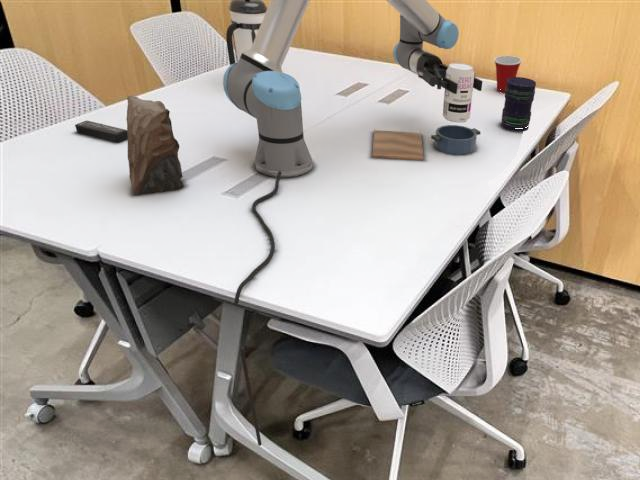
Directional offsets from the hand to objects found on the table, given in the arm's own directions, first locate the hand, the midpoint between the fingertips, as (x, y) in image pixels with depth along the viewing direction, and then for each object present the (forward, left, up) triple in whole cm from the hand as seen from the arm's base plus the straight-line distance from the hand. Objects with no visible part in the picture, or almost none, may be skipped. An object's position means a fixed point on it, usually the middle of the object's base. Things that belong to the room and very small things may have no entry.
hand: (468, 87), depth 168 cm
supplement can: (+4, +2, -11) cm, 12 cm away
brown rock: (-32, +81, -20) cm, 90 cm away
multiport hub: (-2, +104, -20) cm, 106 cm away
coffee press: (+53, +71, -20) cm, 91 cm away
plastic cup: (+65, -23, -20) cm, 72 cm away
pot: (+4, +2, -19) cm, 20 cm away
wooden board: (+2, +20, -19) cm, 28 cm away
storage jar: (+25, -21, -20) cm, 38 cm away
